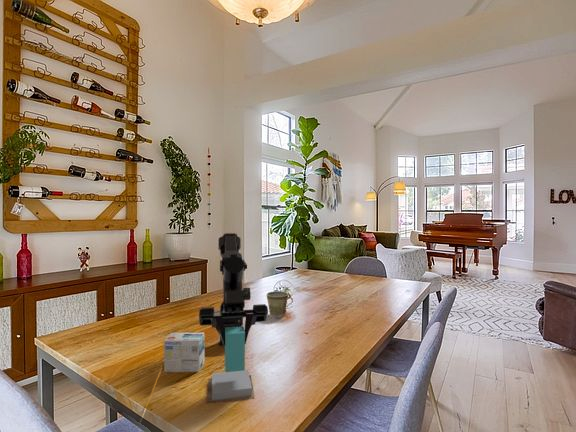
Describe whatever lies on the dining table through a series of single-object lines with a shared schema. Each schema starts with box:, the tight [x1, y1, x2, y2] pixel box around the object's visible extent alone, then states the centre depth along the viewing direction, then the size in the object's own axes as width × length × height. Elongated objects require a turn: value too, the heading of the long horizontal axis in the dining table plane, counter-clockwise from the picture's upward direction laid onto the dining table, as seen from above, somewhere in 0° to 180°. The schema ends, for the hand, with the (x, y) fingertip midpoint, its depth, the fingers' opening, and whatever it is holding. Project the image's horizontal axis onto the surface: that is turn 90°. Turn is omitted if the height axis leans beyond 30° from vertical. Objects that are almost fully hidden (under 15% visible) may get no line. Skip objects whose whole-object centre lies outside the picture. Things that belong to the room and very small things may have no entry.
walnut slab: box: [205, 374, 256, 404], centre depth 88 cm, size 12×12×2 cm
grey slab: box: [211, 369, 252, 401], centre depth 88 cm, size 10×10×2 cm
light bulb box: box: [163, 331, 205, 373], centre depth 100 cm, size 11×7×11 cm, turn 92°
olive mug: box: [266, 290, 294, 319], centre depth 152 cm, size 13×10×10 cm
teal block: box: [224, 325, 246, 372], centre depth 88 cm, size 5×5×10 cm
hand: (234, 344), depth 87 cm, fingers closed on teal block, 5 cm apart
